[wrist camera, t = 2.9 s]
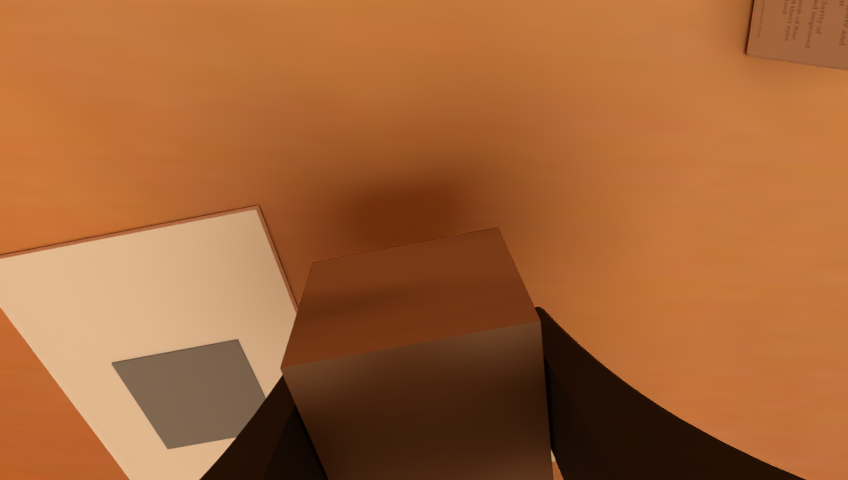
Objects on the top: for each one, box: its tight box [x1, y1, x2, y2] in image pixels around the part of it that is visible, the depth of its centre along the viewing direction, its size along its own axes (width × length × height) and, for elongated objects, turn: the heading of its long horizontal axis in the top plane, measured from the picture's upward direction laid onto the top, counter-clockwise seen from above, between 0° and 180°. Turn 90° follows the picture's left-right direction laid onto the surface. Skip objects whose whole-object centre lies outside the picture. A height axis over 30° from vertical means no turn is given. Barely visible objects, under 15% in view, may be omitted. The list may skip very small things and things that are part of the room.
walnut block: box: [280, 227, 553, 480], centre depth 12 cm, size 5×5×4 cm
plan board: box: [0, 205, 298, 480], centre depth 23 cm, size 18×12×1 cm, turn 10°
